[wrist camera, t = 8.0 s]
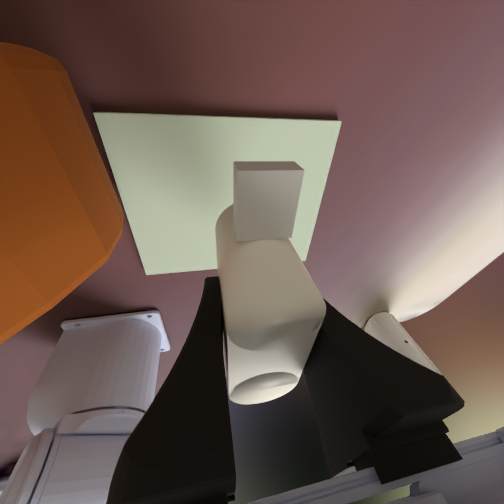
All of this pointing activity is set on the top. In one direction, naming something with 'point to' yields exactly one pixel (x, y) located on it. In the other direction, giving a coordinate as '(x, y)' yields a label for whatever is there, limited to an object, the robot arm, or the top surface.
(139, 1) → the top surface
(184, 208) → the rubber mat
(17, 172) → the orange toaster
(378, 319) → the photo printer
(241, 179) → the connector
